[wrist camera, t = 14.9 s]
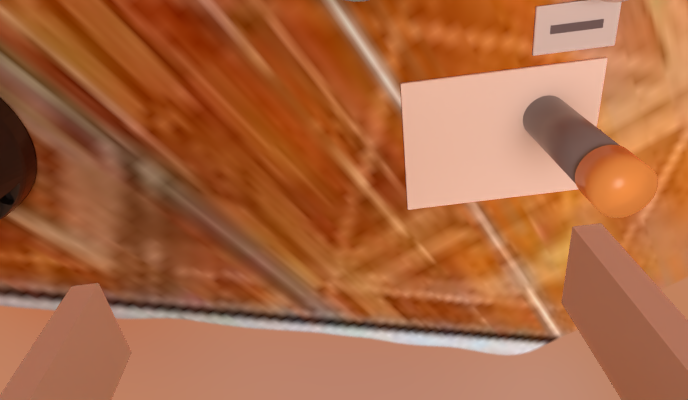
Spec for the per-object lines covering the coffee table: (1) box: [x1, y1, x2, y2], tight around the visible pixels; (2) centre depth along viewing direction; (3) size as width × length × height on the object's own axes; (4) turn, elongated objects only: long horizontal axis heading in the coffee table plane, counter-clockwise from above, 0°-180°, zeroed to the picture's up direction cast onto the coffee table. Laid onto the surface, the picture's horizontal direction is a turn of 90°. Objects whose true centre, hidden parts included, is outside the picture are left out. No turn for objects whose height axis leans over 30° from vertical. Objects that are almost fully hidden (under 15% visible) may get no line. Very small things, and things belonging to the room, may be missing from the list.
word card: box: [532, 0, 621, 56], centre depth 42 cm, size 7×4×1 cm, turn 97°
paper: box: [400, 57, 607, 210], centre depth 47 cm, size 18×13×1 cm
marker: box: [523, 95, 658, 218], centre depth 39 cm, size 4×4×14 cm
